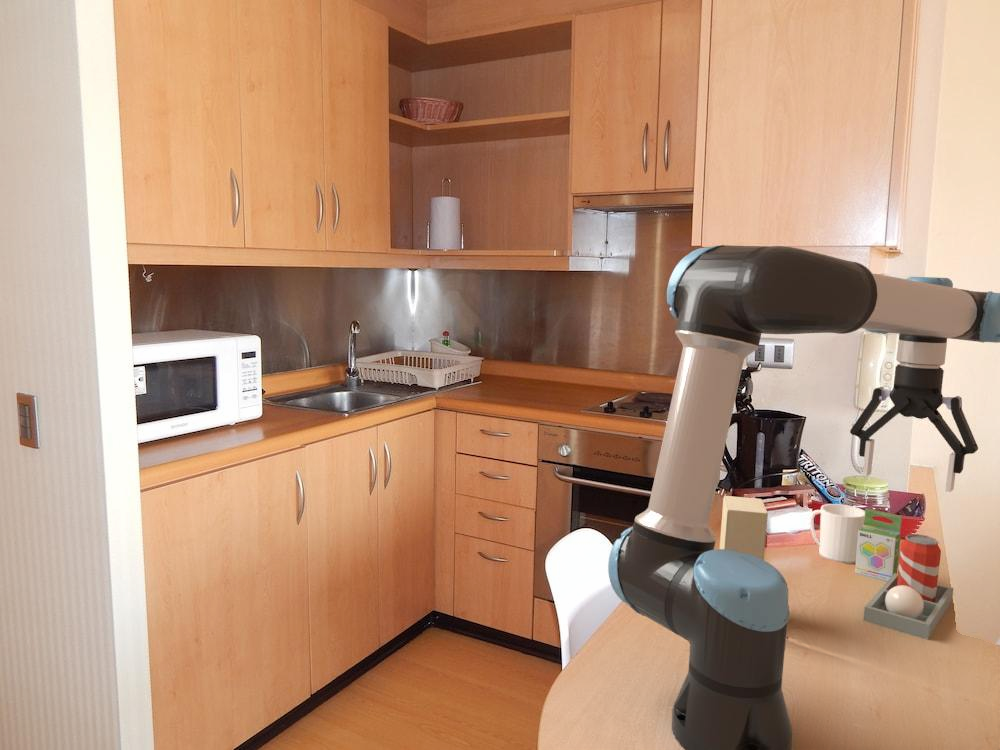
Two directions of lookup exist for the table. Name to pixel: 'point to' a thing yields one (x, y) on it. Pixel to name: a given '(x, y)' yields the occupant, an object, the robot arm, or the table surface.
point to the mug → (838, 531)
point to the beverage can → (920, 565)
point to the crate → (916, 627)
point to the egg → (904, 601)
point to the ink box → (878, 546)
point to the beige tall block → (744, 525)
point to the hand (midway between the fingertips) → (906, 482)
